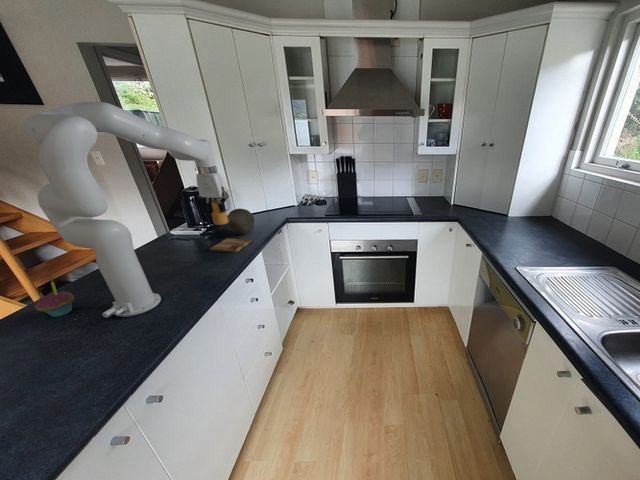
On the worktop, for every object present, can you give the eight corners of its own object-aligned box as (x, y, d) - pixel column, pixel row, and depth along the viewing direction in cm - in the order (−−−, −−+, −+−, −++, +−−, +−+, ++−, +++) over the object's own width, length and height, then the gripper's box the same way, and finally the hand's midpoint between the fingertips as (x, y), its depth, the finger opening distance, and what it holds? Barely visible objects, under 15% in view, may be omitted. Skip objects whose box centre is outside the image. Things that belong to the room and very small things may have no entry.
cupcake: (78, 302, 97) (60, 273, 92) (81, 311, 92) (63, 281, 87) (41, 313, 91) (21, 283, 86) (43, 324, 86) (21, 293, 81)
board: (235, 252, 135) (235, 250, 134) (209, 250, 136) (209, 248, 136) (251, 241, 147) (251, 239, 147) (227, 240, 149) (227, 237, 148)
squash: (223, 225, 125) (216, 201, 120) (211, 224, 126) (204, 201, 121) (231, 220, 130) (225, 198, 126) (219, 220, 131) (213, 197, 126)
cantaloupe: (227, 234, 157) (220, 208, 150) (252, 228, 165) (247, 204, 159) (234, 241, 147) (227, 214, 141) (261, 235, 156) (255, 209, 149)
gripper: (182, 171, 115) (195, 213, 123) (219, 172, 113) (230, 214, 121) (196, 168, 122) (207, 208, 130) (230, 169, 120) (240, 210, 128)
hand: (218, 211), depth 126 cm, fingers closed on squash, 4 cm apart
